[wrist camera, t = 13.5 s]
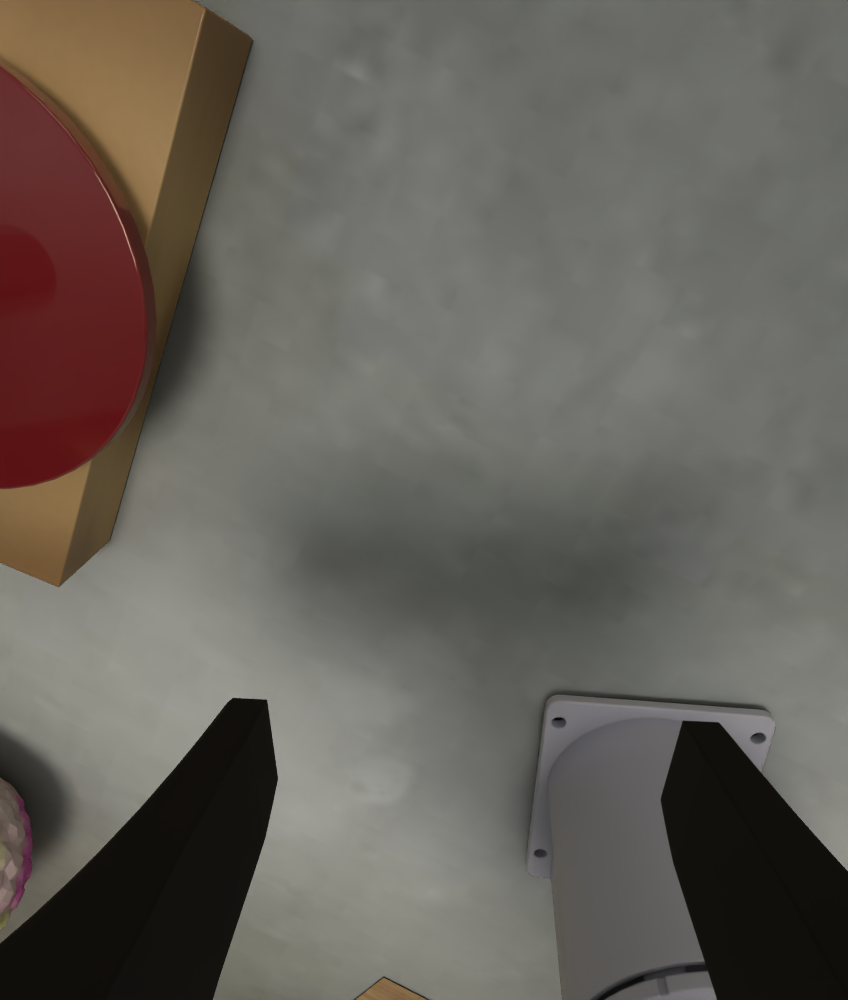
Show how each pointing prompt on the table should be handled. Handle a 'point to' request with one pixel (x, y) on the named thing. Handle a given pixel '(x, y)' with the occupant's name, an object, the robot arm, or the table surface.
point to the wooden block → (146, 188)
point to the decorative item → (13, 850)
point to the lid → (64, 294)
